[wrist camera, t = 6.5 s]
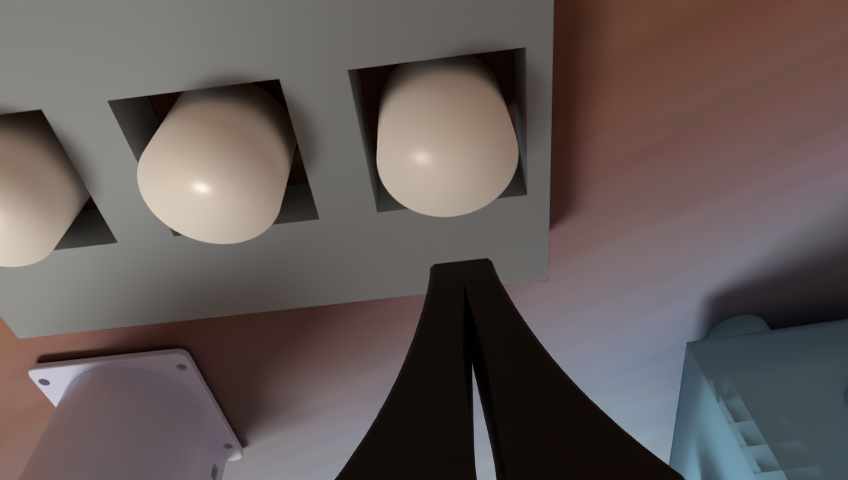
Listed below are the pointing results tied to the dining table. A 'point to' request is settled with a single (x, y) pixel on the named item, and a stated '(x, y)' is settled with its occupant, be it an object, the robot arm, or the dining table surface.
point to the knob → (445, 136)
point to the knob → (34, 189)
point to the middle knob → (219, 163)
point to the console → (317, 139)
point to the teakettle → (764, 403)
